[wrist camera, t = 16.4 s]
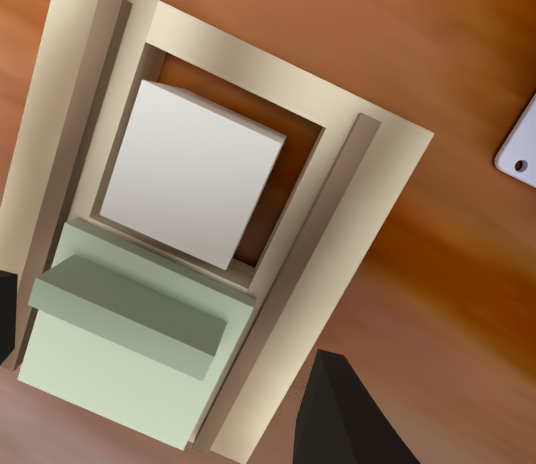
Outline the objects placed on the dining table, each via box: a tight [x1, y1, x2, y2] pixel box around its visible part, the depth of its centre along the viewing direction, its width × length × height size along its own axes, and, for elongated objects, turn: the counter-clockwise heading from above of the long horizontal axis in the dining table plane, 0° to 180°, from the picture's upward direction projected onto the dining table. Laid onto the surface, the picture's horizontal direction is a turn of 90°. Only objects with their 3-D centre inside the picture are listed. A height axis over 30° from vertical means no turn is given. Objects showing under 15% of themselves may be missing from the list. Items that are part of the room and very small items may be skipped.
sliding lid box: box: [0, 0, 434, 464], centre depth 18 cm, size 15×18×3 cm
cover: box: [17, 218, 256, 450], centre depth 17 cm, size 8×8×3 cm
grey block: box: [99, 80, 287, 270], centre depth 16 cm, size 5×5×5 cm
